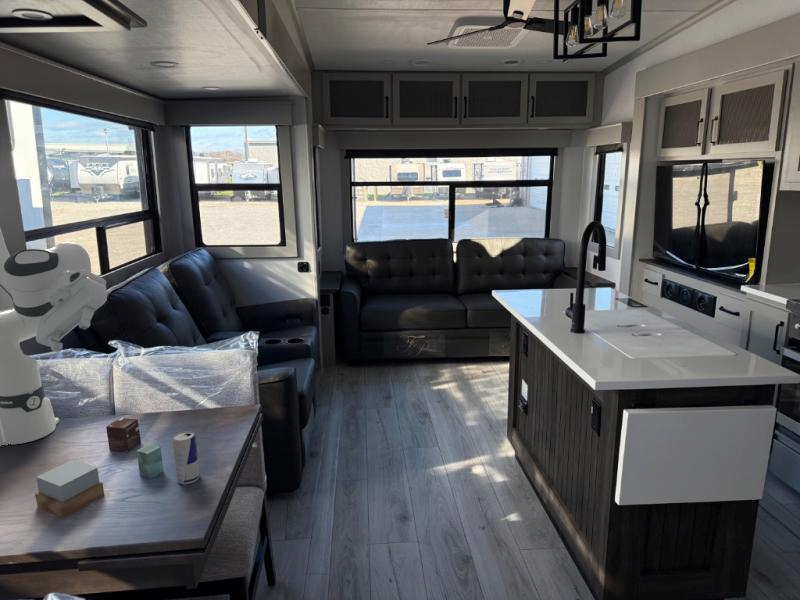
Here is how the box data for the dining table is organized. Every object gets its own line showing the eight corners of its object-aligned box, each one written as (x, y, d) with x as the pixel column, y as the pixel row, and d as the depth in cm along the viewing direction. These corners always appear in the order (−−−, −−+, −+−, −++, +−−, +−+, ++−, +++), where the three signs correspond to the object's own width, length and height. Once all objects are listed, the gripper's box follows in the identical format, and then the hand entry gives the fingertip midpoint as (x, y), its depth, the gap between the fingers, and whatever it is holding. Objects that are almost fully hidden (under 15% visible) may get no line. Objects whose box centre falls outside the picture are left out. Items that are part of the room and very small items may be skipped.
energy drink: (204, 477, 143) (199, 433, 141) (187, 487, 139) (182, 442, 136) (190, 471, 146) (185, 429, 143) (172, 481, 142) (167, 437, 139)
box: (127, 452, 157) (124, 428, 155) (108, 451, 158) (105, 426, 156) (141, 442, 162) (138, 418, 161) (123, 440, 164) (119, 417, 162)
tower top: (39, 492, 131) (36, 476, 130) (75, 473, 139) (73, 459, 138) (62, 502, 127) (60, 486, 126) (99, 482, 135) (97, 467, 134)
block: (139, 475, 145) (136, 450, 143) (152, 468, 148) (149, 443, 147) (150, 479, 143) (147, 453, 141) (163, 471, 146) (160, 446, 145)
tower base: (37, 508, 132) (35, 493, 131) (78, 487, 141) (75, 472, 140) (64, 519, 127) (61, 504, 127) (104, 497, 136) (102, 482, 135)
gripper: (29, 313, 137) (26, 358, 128) (87, 265, 132) (87, 308, 124) (55, 323, 141) (53, 367, 133) (111, 277, 137) (113, 319, 129)
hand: (70, 338), depth 128 cm, fingers open, 8 cm apart
